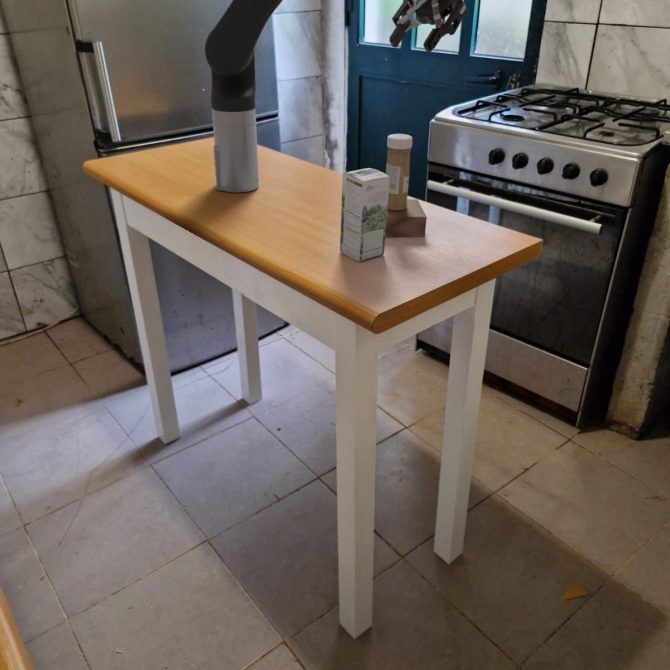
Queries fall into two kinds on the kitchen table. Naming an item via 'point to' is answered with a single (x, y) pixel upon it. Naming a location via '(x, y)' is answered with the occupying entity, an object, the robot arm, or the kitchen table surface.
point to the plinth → (406, 221)
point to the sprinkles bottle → (398, 170)
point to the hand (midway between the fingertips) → (409, 46)
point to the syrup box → (364, 213)
